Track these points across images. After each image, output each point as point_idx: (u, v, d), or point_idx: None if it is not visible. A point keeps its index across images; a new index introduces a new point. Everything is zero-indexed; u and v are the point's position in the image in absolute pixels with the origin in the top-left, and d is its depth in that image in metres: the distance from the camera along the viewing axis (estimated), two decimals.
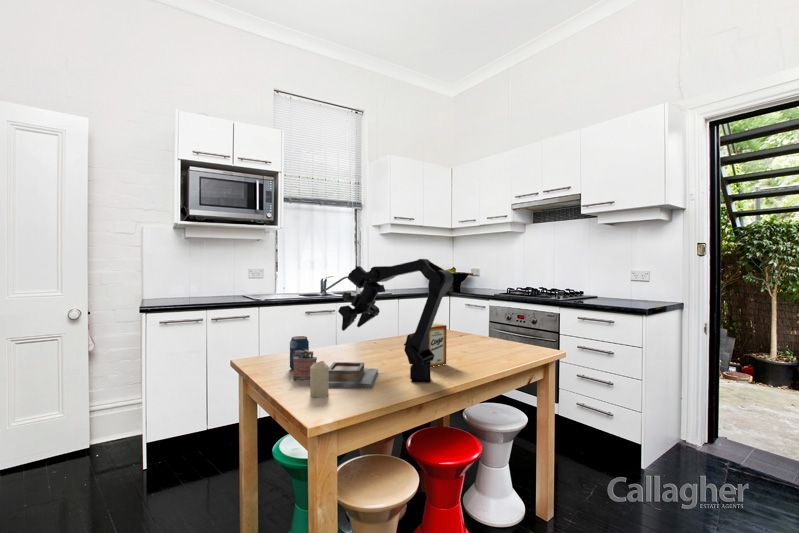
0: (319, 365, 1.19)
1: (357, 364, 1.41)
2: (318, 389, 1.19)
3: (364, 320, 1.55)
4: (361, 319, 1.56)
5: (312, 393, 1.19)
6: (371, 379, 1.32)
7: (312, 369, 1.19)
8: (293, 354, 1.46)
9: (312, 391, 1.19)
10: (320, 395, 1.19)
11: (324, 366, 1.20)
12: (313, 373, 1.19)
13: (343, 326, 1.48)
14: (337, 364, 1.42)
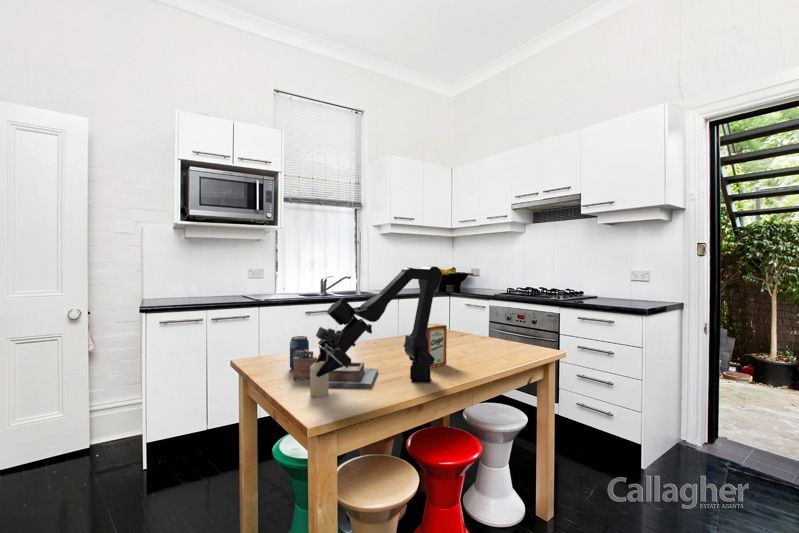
0: (319, 365, 1.19)
1: (357, 364, 1.41)
2: (318, 389, 1.19)
3: None
4: None
5: (312, 393, 1.19)
6: (371, 379, 1.32)
7: (312, 369, 1.19)
8: (293, 354, 1.46)
9: (312, 391, 1.19)
10: (320, 395, 1.19)
11: None
12: (313, 373, 1.19)
13: (322, 371, 1.18)
14: None
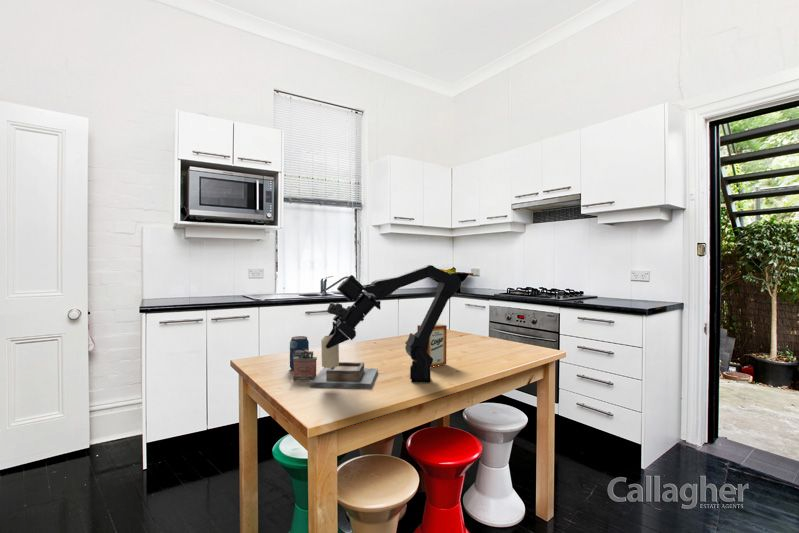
0: (329, 338, 1.27)
1: (357, 364, 1.41)
2: (328, 360, 1.26)
3: None
4: None
5: (323, 364, 1.27)
6: (371, 379, 1.32)
7: (322, 341, 1.27)
8: (293, 354, 1.46)
9: (323, 362, 1.27)
10: (329, 366, 1.26)
11: None
12: (323, 345, 1.26)
13: (330, 343, 1.25)
14: None
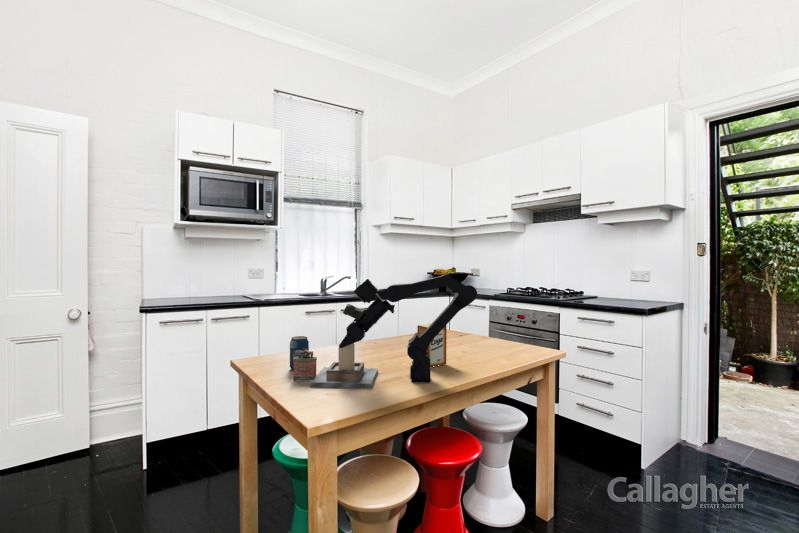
0: None
1: (357, 364, 1.41)
2: (342, 363, 1.34)
3: None
4: None
5: None
6: (371, 379, 1.32)
7: None
8: (293, 354, 1.46)
9: None
10: (344, 369, 1.34)
11: None
12: (339, 349, 1.35)
13: (343, 343, 1.32)
14: (337, 364, 1.42)
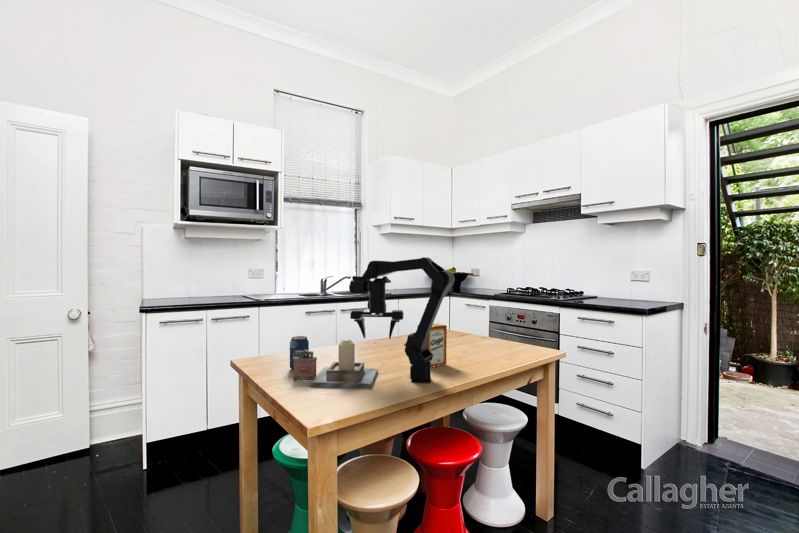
0: (344, 343, 1.35)
1: (357, 364, 1.41)
2: (342, 364, 1.34)
3: (390, 328, 1.42)
4: None
5: None
6: (371, 379, 1.32)
7: (339, 345, 1.36)
8: (293, 354, 1.46)
9: None
10: (344, 369, 1.34)
11: (348, 344, 1.35)
12: (339, 349, 1.35)
13: None
14: (337, 364, 1.42)
